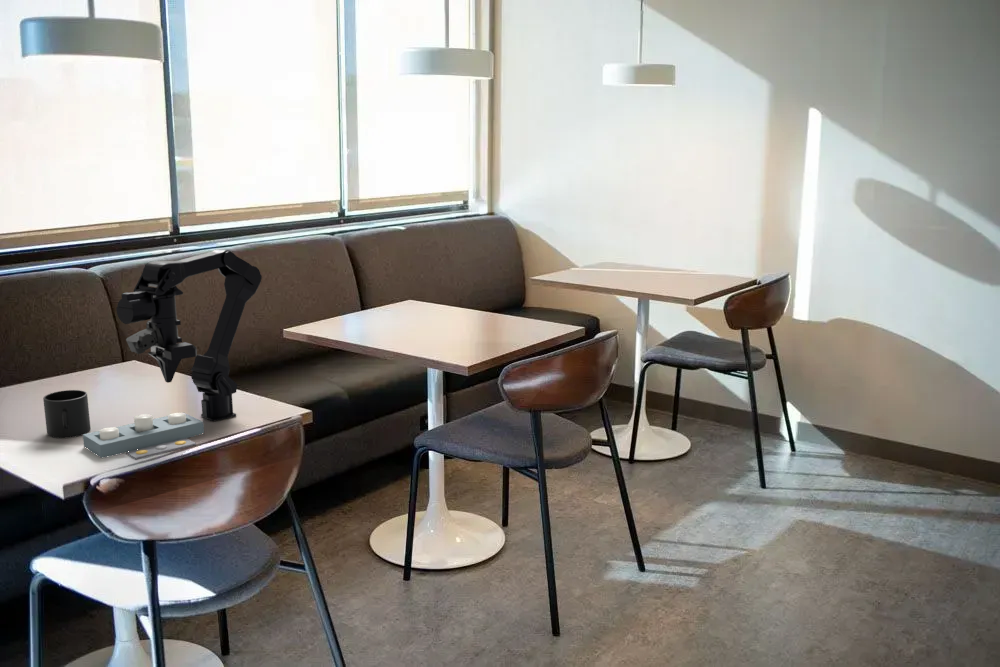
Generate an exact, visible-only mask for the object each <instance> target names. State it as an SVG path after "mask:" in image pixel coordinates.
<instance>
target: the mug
mask: <svg viewBox="0 0 1000 667" xmlns="http://www.w3.org/2000/svg"><path fill="white" fill-rule="evenodd" d="M42 400H43V408H44V418H45V429H46V434H47V436H48V437H49V438H54V439H69V438H74V437H75V436H76V437H79V436H83V434H87V433H90V430H91V420H90V410H89V409H90V408H89V400H88V393H87V392H86V391H85V390H81V389H80V390H79V389H69V390H68V389H67V390H59V391H54V392H50V393H48V394H46V395H44V396H43V399H42Z"/></svg>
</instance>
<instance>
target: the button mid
mask: <svg viewBox="0 0 1000 667" xmlns="http://www.w3.org/2000/svg"><path fill="white" fill-rule="evenodd" d="M153 419H154V418H153V415H152V414H149V413H148V414H138V415H136V416H134V417H133V423H134V424H135V431H136V432H138V433H140V432H144V431H149V430H153V429H154V428H153Z"/></svg>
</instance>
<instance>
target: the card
mask: <svg viewBox="0 0 1000 667" xmlns="http://www.w3.org/2000/svg"><path fill="white" fill-rule="evenodd" d="M193 445H194V446H196V445H197V443H196V442H195V441H192V440H191V439H189V438H184V439H180V440H175V441H171V442H167V443H163V444H159V445H154V446H150V447H146V448H142V449H138V450H133V451H129V452H126V453H125V455H127V454H128V455H127V456H129V458H132V459H134V460H135V461H136V460H140V459H144V458H148V457H151V456H156V455H160V454H164V453H168V452H173V451H176V450H181V449H184V448H185V449H186V448H189V447H192V446H193Z"/></svg>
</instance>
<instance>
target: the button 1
mask: <svg viewBox="0 0 1000 667" xmlns="http://www.w3.org/2000/svg"><path fill="white" fill-rule="evenodd" d="M115 427H116V426H115ZM115 427H113V426H112V427H104V428H101V429H100V430H98V431H99V433H100V440H102V441H104V440H109V439H113V438H118V437H119V429H118V428H115Z"/></svg>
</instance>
